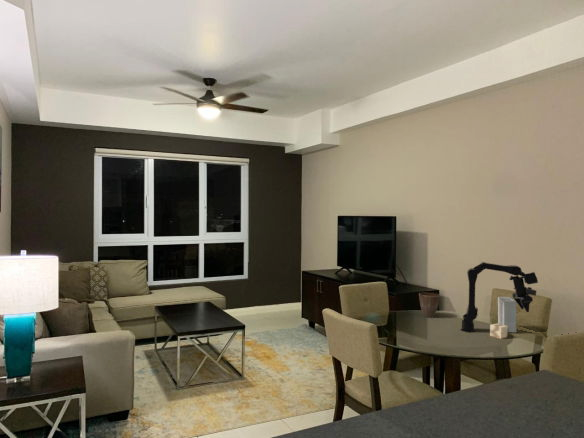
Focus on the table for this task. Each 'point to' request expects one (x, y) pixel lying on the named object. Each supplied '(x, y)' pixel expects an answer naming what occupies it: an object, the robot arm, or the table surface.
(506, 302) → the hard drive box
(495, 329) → the birch block
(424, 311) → the plant pot
